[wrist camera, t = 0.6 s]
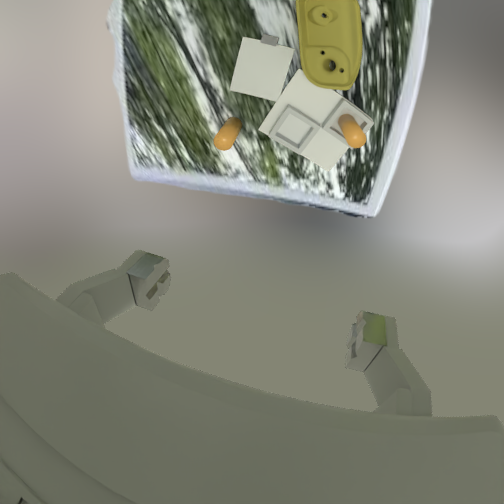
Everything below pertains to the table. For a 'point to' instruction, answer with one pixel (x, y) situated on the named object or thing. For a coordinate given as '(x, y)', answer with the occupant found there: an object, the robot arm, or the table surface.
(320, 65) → the plastic component
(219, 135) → the pin
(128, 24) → the table surface
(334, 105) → the housing
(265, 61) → the lid
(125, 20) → the table surface
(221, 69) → the table surface
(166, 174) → the table surface
